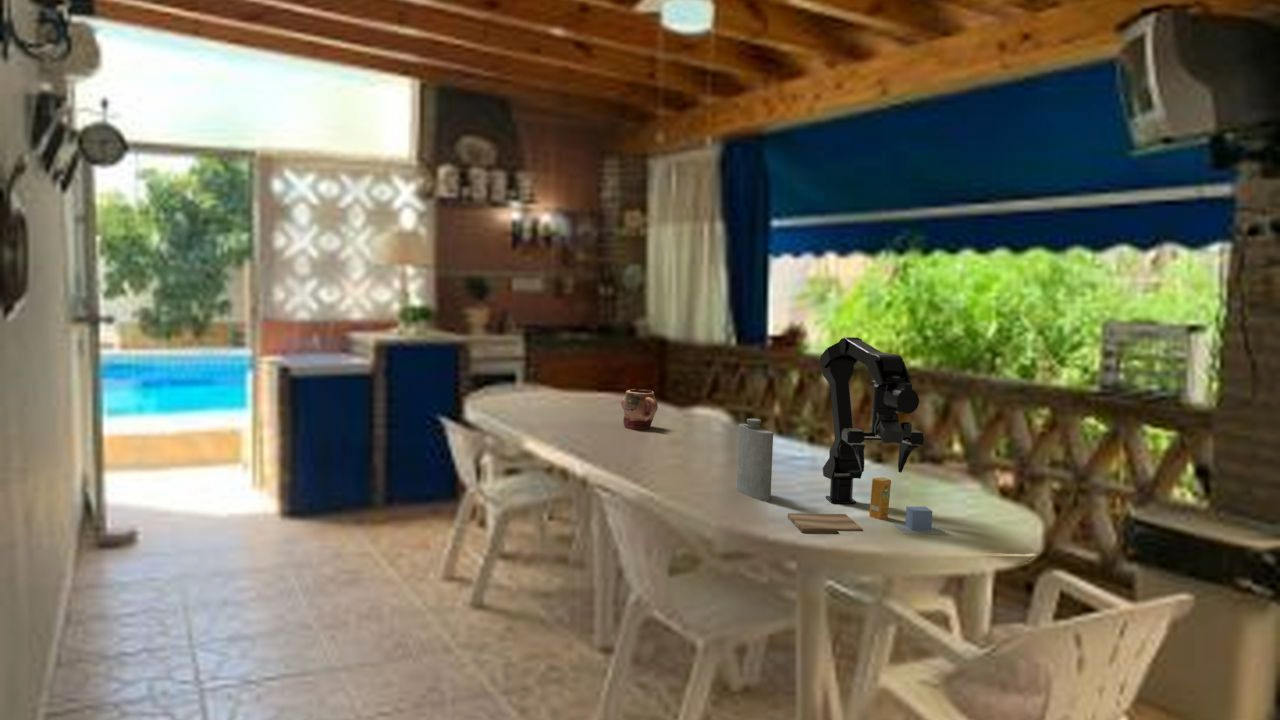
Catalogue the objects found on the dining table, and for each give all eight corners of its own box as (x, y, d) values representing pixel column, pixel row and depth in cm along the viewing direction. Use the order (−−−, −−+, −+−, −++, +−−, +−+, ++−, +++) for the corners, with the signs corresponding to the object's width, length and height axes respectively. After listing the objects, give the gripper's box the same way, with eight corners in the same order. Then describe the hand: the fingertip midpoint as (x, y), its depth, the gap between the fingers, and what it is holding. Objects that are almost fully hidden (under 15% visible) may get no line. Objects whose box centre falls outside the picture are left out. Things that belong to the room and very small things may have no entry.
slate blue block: (905, 525, 234) (906, 506, 234) (924, 525, 235) (925, 506, 234) (912, 530, 230) (913, 510, 229) (931, 530, 230) (932, 511, 230)
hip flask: (772, 500, 259) (775, 423, 257) (758, 501, 257) (761, 423, 256) (745, 487, 274) (748, 414, 272) (731, 488, 272) (734, 414, 270)
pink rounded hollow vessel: (669, 431, 367) (671, 393, 365) (642, 433, 359) (644, 394, 358) (637, 423, 383) (638, 386, 381) (610, 425, 375) (612, 388, 374)
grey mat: (889, 524, 237) (890, 522, 237) (931, 525, 238) (931, 522, 238) (904, 535, 227) (904, 533, 227) (947, 536, 228) (947, 533, 228)
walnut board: (787, 517, 241) (788, 513, 241) (845, 518, 242) (845, 513, 242) (801, 532, 227) (801, 528, 227) (862, 533, 228) (862, 528, 228)
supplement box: (879, 521, 239) (881, 480, 239) (868, 518, 242) (870, 477, 241) (889, 520, 241) (891, 479, 240) (878, 517, 244) (880, 476, 243)
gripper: (855, 411, 231) (852, 478, 232) (935, 413, 232) (931, 479, 233) (842, 404, 242) (839, 468, 243) (918, 406, 243) (914, 470, 245)
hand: (881, 472), depth 241 cm, fingers open, 9 cm apart
